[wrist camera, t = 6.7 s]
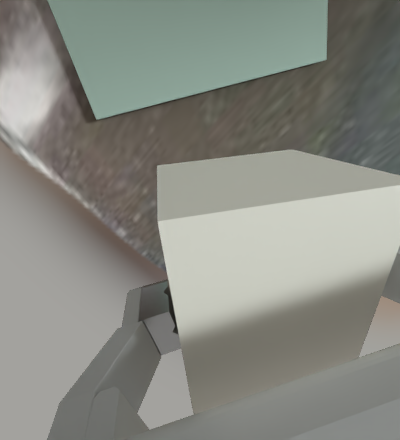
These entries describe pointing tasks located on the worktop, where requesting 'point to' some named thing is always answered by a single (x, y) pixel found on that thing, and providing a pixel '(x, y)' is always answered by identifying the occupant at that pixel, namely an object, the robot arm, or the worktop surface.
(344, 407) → the robot arm
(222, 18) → the mat
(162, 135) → the worktop surface
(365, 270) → the card box
